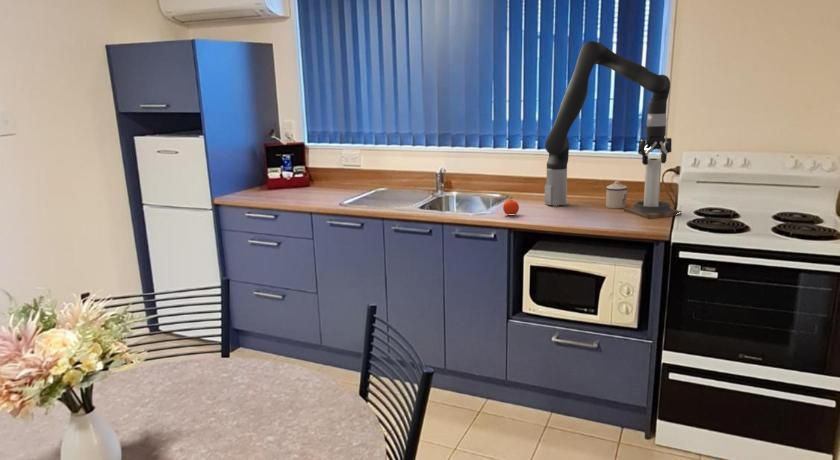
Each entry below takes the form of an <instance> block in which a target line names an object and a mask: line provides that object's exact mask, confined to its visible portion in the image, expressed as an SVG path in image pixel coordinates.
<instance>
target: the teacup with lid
mask: <svg viewBox="0 0 840 460" xmlns="http://www.w3.org/2000/svg"><path fill="white" fill-rule="evenodd" d="M605 189H606V195H605V196H606V197H605V199H606V200H605V206H606V207H607V208H608V209H624V208H625V207H627V193H628V192H627V191H628V187H627V185H625V184H622V183H620V181H619V180H616V181H614V183H611V184H610V185H607V186H606V187H605Z"/></svg>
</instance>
